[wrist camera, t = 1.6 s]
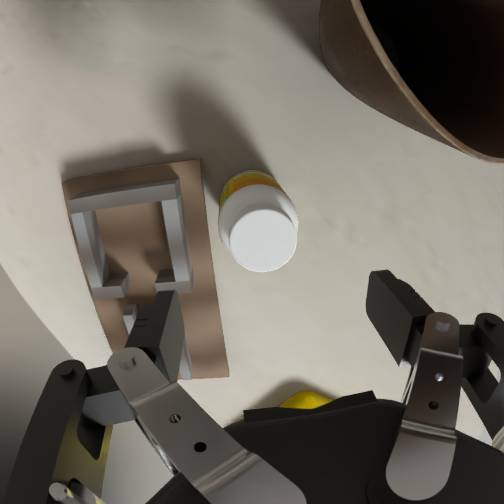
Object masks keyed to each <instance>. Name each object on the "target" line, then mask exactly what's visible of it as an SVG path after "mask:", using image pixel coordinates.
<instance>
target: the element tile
mask: <svg viewBox="0 0 504 504" xmlns="http://www.w3.org/2000/svg"><path fill="white" fill-rule="evenodd" d="M331 401H334V400H331V399H329V398H327V397H324V396H322V395H320V394H318V393H315V392H312V391H303V392H299V393H297V394H295V395H293V396H292V397H290V398H289V399H288V400H286V401H285V402H284V403H282V404H281V405H280V406H279V407H285V408H302V409H313V408H316V407H319V406H321V405H324V404H326V403H329V402H331Z"/></svg>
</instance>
